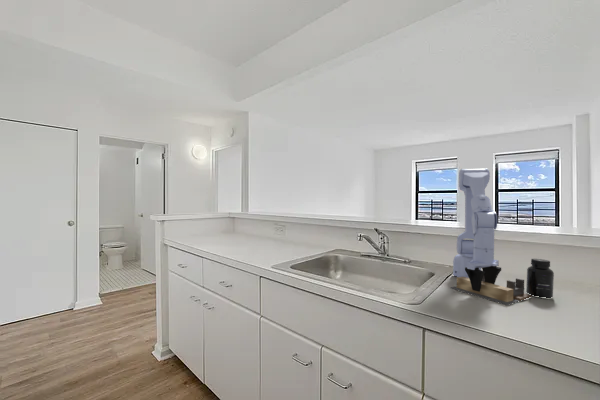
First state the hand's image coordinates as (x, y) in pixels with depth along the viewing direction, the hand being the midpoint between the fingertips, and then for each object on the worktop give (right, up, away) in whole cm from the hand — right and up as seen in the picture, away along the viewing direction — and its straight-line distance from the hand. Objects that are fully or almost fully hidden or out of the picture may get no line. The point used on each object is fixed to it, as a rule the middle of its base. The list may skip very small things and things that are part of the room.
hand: (482, 289), depth 94 cm
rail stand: (+7, -2, +4) cm, 8 cm away
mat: (0, -2, 0) cm, 2 cm away
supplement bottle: (+19, -2, 0) cm, 19 cm away
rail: (0, -1, 0) cm, 1 cm away
